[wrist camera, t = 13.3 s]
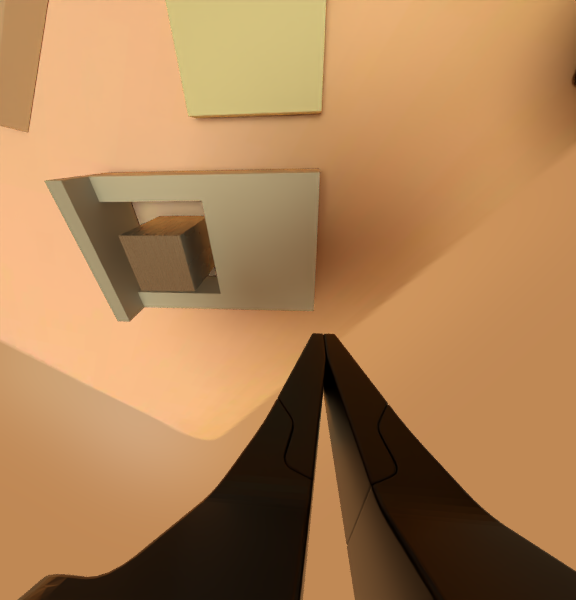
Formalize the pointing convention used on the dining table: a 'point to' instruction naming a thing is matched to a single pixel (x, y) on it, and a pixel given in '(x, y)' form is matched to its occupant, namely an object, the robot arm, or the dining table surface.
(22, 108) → the beige half-round holder
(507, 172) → the dining table surface
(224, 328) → the dining table surface
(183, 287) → the block
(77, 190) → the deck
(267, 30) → the pad
